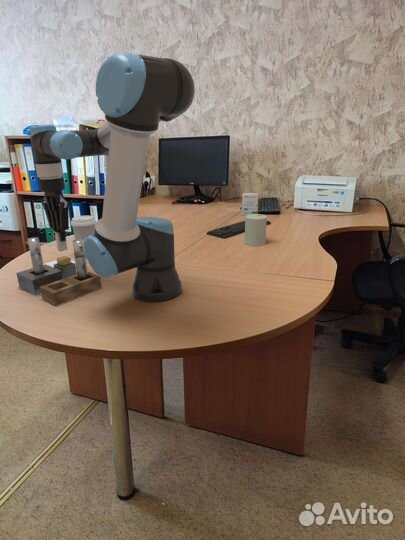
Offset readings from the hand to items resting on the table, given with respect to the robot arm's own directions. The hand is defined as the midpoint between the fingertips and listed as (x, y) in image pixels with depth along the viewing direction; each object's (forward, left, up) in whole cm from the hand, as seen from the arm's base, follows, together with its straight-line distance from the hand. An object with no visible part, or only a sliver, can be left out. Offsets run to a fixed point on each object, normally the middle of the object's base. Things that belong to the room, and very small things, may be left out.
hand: (62, 250), depth 128 cm
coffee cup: (+16, -19, -10) cm, 27 cm away
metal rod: (+1, +9, -10) cm, 13 cm away
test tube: (-12, +2, -10) cm, 16 cm away
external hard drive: (+13, -4, -11) cm, 17 cm away
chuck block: (+1, +6, -10) cm, 12 cm away
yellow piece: (+1, 0, -9) cm, 9 cm away
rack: (-12, +6, -10) cm, 17 cm away
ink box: (+1, -114, -10) cm, 114 cm away
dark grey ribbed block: (-11, -87, -11) cm, 89 cm away
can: (-29, -72, -10) cm, 78 cm away
